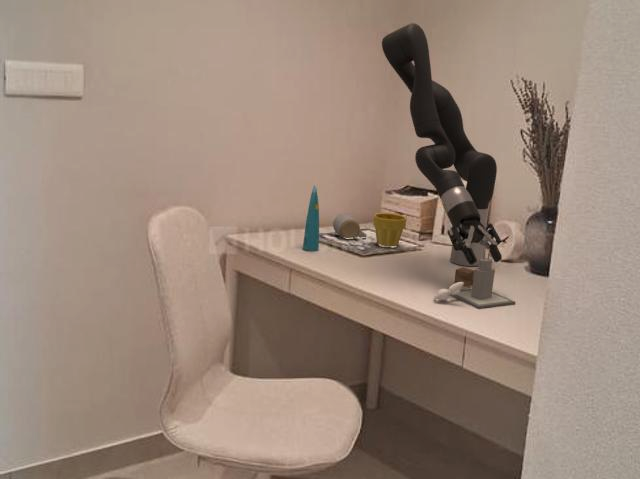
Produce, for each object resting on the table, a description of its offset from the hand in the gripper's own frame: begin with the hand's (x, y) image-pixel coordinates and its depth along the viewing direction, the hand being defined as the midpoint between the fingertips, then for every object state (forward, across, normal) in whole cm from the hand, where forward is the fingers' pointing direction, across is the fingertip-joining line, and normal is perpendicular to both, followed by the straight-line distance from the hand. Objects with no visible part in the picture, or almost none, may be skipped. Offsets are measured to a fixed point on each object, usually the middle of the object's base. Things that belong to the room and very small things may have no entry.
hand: (486, 261), depth 178 cm
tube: (-33, -16, +47) cm, 60 cm away
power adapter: (+7, 0, +6) cm, 9 cm away
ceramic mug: (-40, +5, +54) cm, 67 cm away
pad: (+7, 0, +7) cm, 10 cm away
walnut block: (-1, +5, +15) cm, 16 cm away
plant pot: (-31, +11, +44) cm, 55 cm away
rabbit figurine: (+6, -10, +8) cm, 14 cm away
